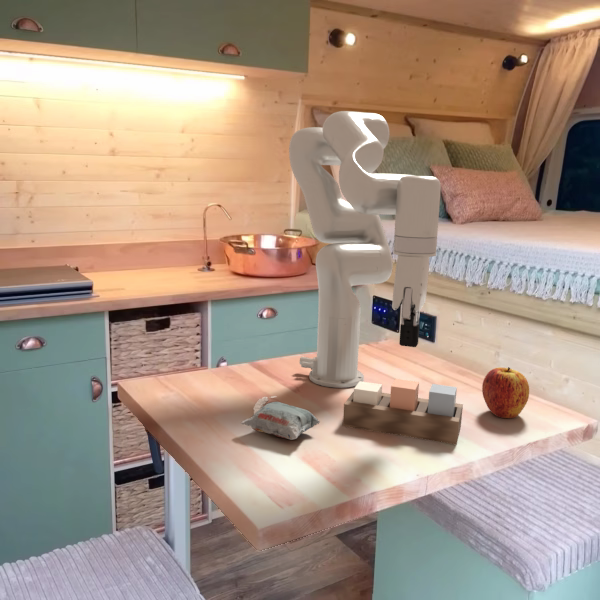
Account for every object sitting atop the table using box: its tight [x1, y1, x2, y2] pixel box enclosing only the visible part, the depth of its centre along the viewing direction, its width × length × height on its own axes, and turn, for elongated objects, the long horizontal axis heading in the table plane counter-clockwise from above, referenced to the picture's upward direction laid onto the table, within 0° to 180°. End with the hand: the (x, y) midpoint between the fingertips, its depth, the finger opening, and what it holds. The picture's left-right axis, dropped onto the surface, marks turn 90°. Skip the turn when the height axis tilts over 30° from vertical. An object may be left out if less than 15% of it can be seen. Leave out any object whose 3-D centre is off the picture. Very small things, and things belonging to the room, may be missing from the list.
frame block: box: [342, 390, 464, 446], centre depth 117 cm, size 21×9×4 cm, turn 71°
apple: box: [481, 367, 530, 419], centre depth 123 cm, size 9×9×10 cm
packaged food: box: [240, 401, 321, 441], centre depth 111 cm, size 9×12×5 cm
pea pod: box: [253, 395, 278, 415], centre depth 123 cm, size 15×4×2 cm, turn 171°
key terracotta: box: [390, 378, 420, 411], centre depth 116 cm, size 4×4×5 cm
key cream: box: [353, 381, 383, 406], centre depth 118 cm, size 4×4×5 cm
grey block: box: [428, 383, 458, 417], centre depth 114 cm, size 4×4×5 cm
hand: (408, 345), depth 113 cm, fingers closed
